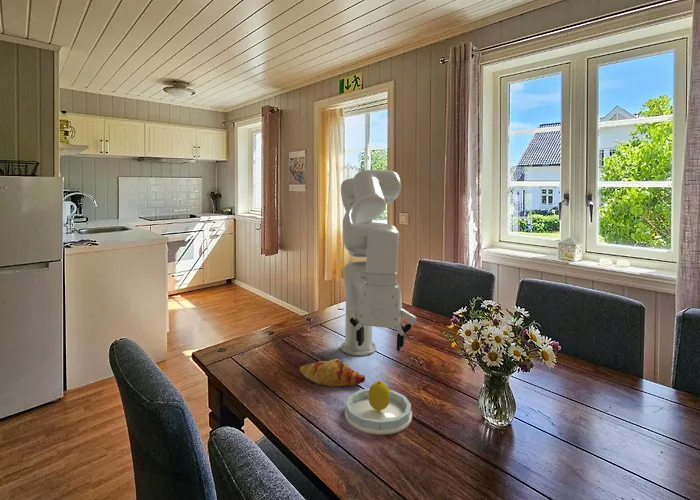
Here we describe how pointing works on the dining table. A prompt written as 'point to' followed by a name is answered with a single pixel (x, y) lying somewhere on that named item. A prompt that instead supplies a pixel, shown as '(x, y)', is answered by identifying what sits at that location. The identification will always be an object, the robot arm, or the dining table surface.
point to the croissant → (332, 373)
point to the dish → (378, 414)
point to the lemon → (379, 396)
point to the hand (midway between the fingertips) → (379, 346)
